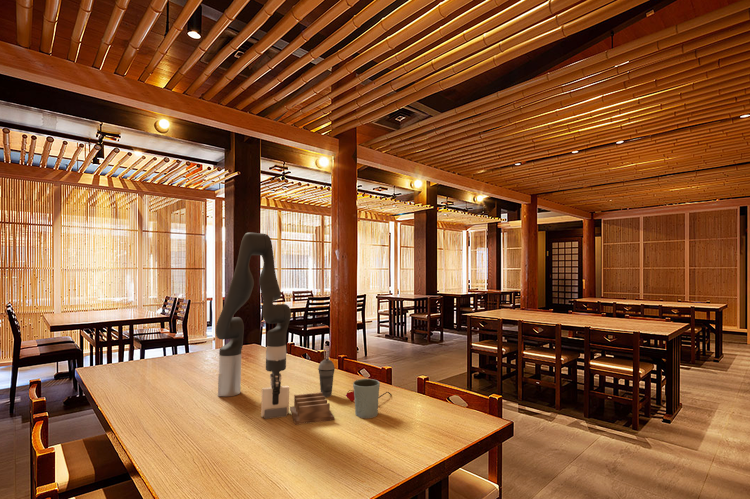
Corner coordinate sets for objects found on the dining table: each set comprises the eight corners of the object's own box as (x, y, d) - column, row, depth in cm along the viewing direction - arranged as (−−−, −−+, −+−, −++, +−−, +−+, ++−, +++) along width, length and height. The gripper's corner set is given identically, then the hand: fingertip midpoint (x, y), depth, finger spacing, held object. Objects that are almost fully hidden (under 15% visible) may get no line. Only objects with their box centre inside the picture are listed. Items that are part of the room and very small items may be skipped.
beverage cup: (331, 398, 165) (332, 351, 166) (315, 397, 167) (316, 350, 168) (336, 393, 172) (337, 348, 173) (321, 392, 174) (321, 347, 175)
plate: (261, 416, 145) (261, 389, 145) (261, 414, 146) (261, 388, 147) (288, 413, 148) (289, 387, 148) (288, 411, 150) (288, 385, 150)
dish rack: (295, 424, 138) (295, 408, 138) (290, 409, 152) (290, 395, 153) (333, 419, 143) (334, 404, 143) (325, 405, 157) (325, 391, 157)
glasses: (345, 401, 163) (345, 389, 164) (364, 390, 178) (364, 379, 178) (374, 407, 157) (374, 394, 157) (391, 395, 172) (391, 384, 172)
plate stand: (264, 418, 143) (264, 410, 143) (263, 413, 148) (263, 405, 148) (286, 416, 146) (286, 408, 146) (285, 411, 151) (285, 403, 151)
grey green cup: (382, 411, 151) (383, 380, 152) (374, 420, 142) (374, 387, 142) (358, 408, 155) (358, 377, 155) (348, 417, 145) (349, 384, 146)
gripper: (264, 353, 153) (263, 398, 153) (267, 362, 140) (266, 410, 140) (284, 352, 156) (283, 396, 155) (288, 360, 143) (287, 408, 142)
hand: (275, 403), depth 147 cm, fingers closed on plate, 2 cm apart
